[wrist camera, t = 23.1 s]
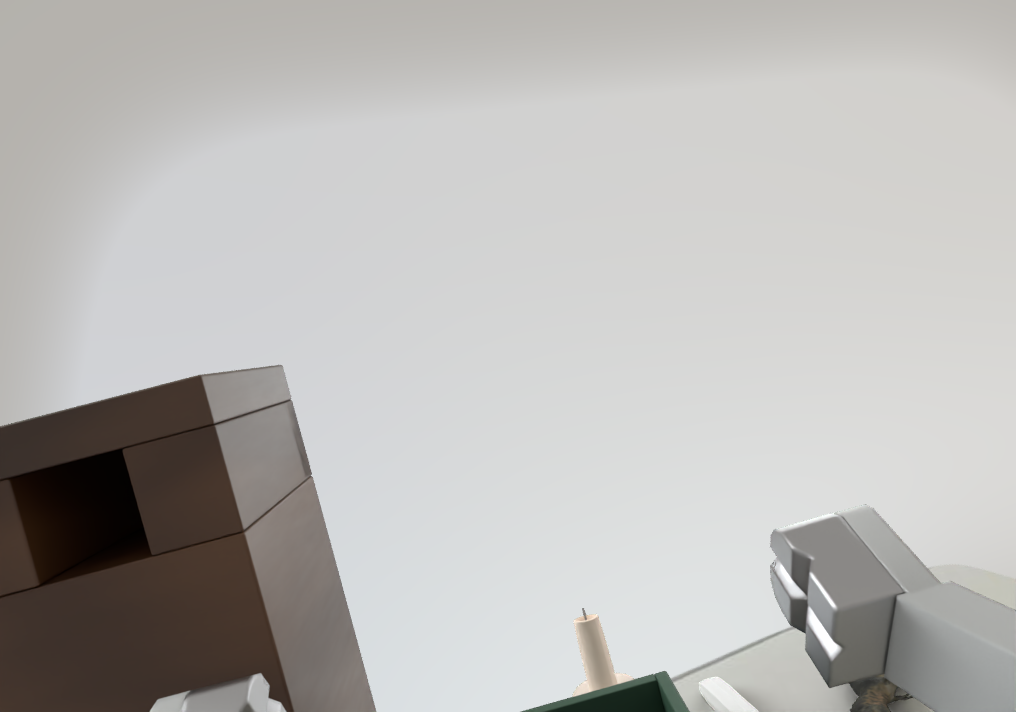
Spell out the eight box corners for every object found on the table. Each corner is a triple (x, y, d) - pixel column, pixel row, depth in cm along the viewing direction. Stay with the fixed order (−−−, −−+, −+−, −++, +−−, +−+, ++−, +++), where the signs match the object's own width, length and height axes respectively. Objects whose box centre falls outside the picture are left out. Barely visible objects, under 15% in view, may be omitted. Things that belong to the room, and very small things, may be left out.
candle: (582, 759, 44) (540, 600, 43) (664, 742, 43) (623, 581, 43) (585, 818, 39) (537, 638, 38) (678, 800, 38) (631, 617, 38)
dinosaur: (1019, 752, 34) (873, 780, 37) (918, 597, 53) (826, 621, 56) (988, 681, 35) (844, 713, 37) (899, 552, 54) (807, 578, 56)
